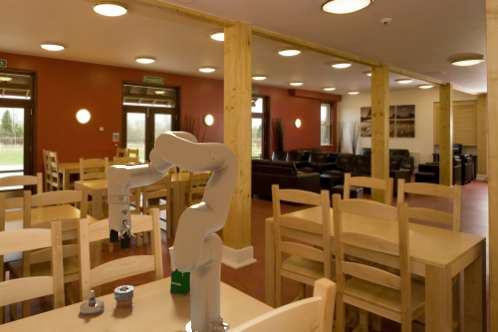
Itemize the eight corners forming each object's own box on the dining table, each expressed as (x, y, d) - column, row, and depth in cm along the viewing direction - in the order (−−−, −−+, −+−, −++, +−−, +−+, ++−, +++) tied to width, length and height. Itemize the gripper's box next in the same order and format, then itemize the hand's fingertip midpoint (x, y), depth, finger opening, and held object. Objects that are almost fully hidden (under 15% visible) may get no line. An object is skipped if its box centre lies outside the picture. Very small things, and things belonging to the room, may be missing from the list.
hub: (109, 308, 133) (108, 289, 133) (89, 317, 126) (88, 297, 126) (95, 303, 138) (95, 284, 137) (75, 311, 131) (74, 292, 130)
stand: (135, 303, 137) (135, 285, 136) (123, 309, 132) (122, 290, 132) (125, 300, 140) (125, 282, 140) (113, 305, 135) (112, 287, 135)
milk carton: (198, 288, 151) (197, 240, 149) (184, 297, 143) (183, 246, 141) (180, 284, 155) (180, 237, 153) (166, 292, 147) (165, 243, 145)
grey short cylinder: (137, 295, 137) (136, 287, 137) (122, 302, 132) (122, 294, 131) (125, 291, 140) (125, 284, 140) (111, 297, 135) (110, 290, 135)
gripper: (139, 201, 131) (139, 248, 133) (118, 195, 144) (119, 238, 146) (118, 204, 126) (119, 253, 128) (99, 197, 139) (100, 241, 141)
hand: (119, 245), depth 137 cm, fingers open, 9 cm apart
